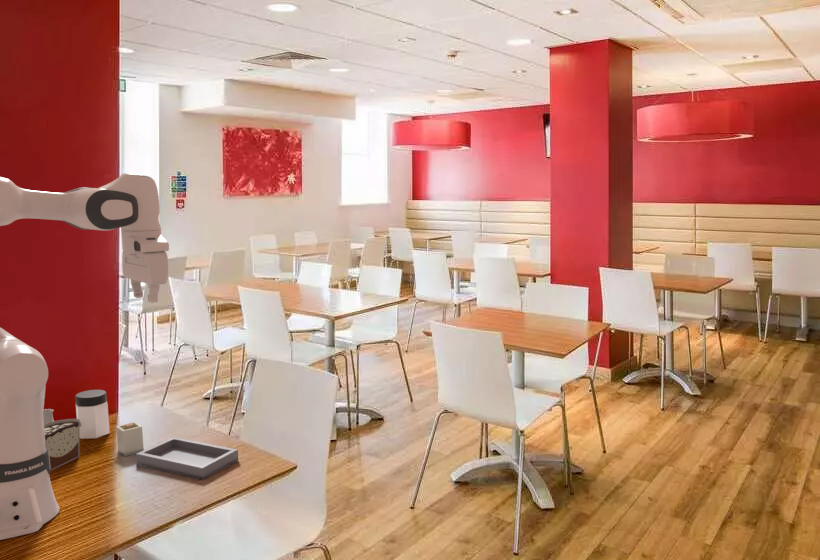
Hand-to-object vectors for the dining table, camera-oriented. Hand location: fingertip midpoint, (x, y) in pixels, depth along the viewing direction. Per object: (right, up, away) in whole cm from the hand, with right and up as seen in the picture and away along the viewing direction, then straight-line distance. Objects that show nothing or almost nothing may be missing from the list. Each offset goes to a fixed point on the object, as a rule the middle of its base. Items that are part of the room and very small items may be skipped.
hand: (145, 299), depth 167 cm
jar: (-28, -40, +33) cm, 59 cm away
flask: (-36, -41, +25) cm, 60 cm away
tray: (+6, -42, +11) cm, 44 cm away
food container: (-28, -43, +13) cm, 53 cm away
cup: (-11, -41, +19) cm, 47 cm away
